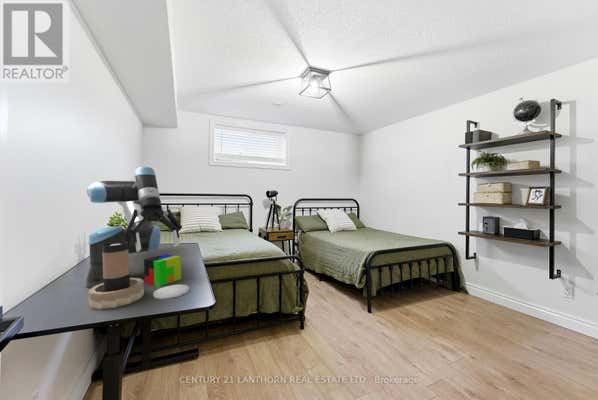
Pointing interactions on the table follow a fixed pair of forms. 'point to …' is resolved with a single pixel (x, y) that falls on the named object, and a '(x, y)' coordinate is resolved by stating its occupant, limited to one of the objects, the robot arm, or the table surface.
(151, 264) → the puzzle toy
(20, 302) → the table surface
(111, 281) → the travel mug
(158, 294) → the white round disc
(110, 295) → the holder ring
